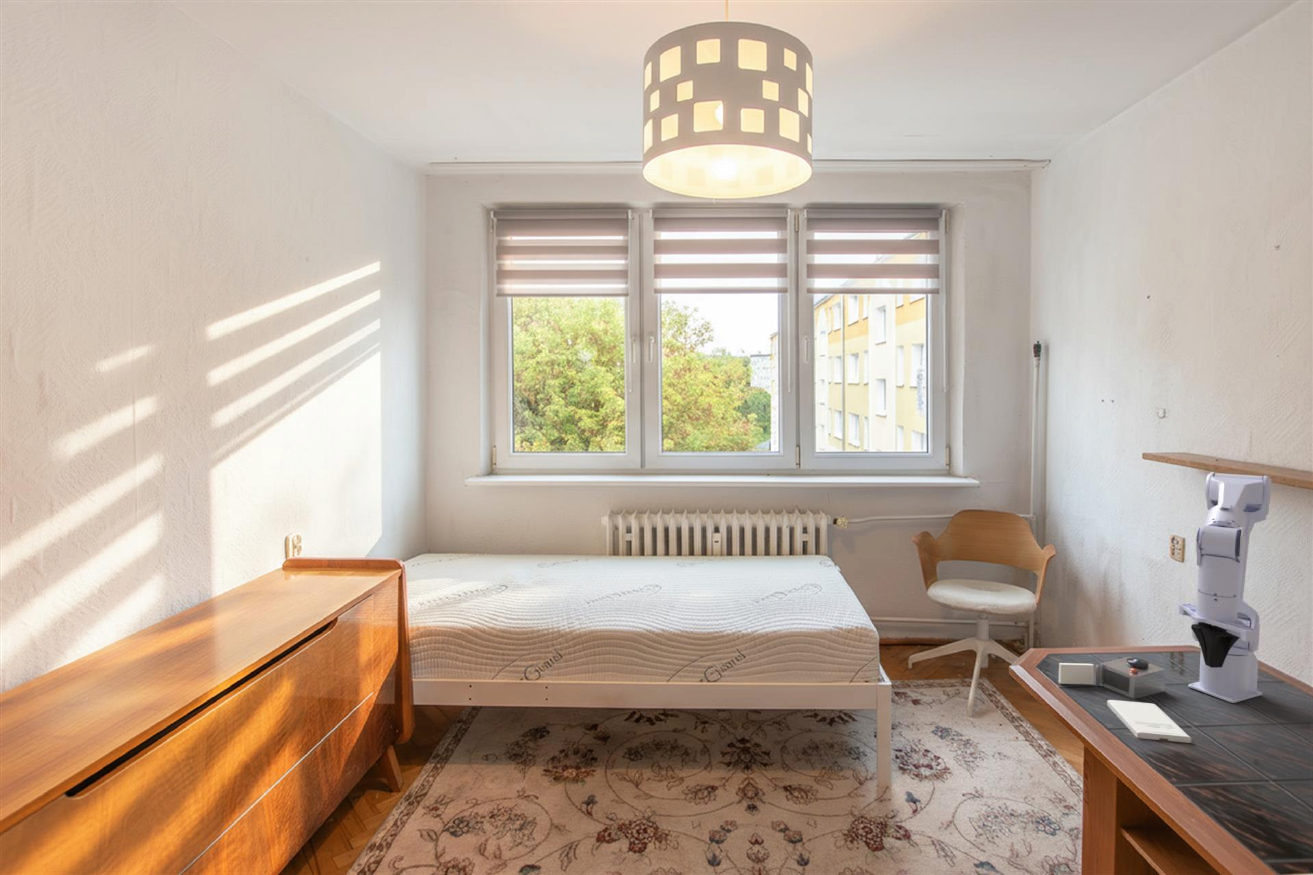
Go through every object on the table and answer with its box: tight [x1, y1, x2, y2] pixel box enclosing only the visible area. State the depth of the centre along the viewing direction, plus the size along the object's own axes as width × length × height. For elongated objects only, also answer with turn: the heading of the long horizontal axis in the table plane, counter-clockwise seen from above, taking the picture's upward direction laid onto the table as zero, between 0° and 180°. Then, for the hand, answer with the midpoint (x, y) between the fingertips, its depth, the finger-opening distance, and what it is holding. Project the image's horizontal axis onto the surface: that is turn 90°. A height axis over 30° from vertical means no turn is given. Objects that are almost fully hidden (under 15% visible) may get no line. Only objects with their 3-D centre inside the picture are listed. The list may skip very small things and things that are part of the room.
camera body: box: [1099, 656, 1167, 700], centre depth 136 cm, size 9×7×6 cm
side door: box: [1057, 662, 1101, 686], centre depth 138 cm, size 1×8×4 cm, turn 86°
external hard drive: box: [1106, 699, 1192, 744], centre depth 122 cm, size 2×8×12 cm
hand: (1213, 665), depth 123 cm, fingers closed
